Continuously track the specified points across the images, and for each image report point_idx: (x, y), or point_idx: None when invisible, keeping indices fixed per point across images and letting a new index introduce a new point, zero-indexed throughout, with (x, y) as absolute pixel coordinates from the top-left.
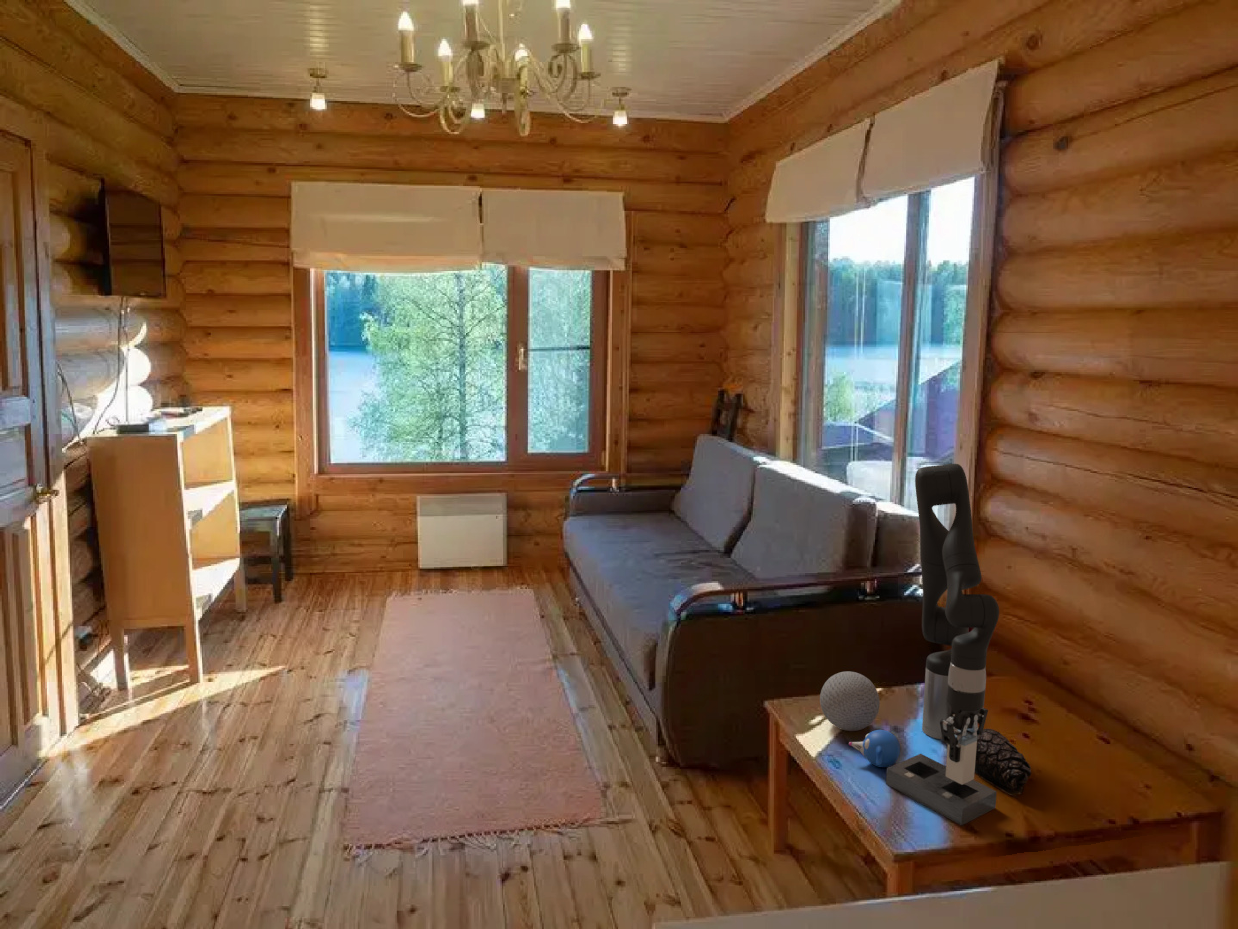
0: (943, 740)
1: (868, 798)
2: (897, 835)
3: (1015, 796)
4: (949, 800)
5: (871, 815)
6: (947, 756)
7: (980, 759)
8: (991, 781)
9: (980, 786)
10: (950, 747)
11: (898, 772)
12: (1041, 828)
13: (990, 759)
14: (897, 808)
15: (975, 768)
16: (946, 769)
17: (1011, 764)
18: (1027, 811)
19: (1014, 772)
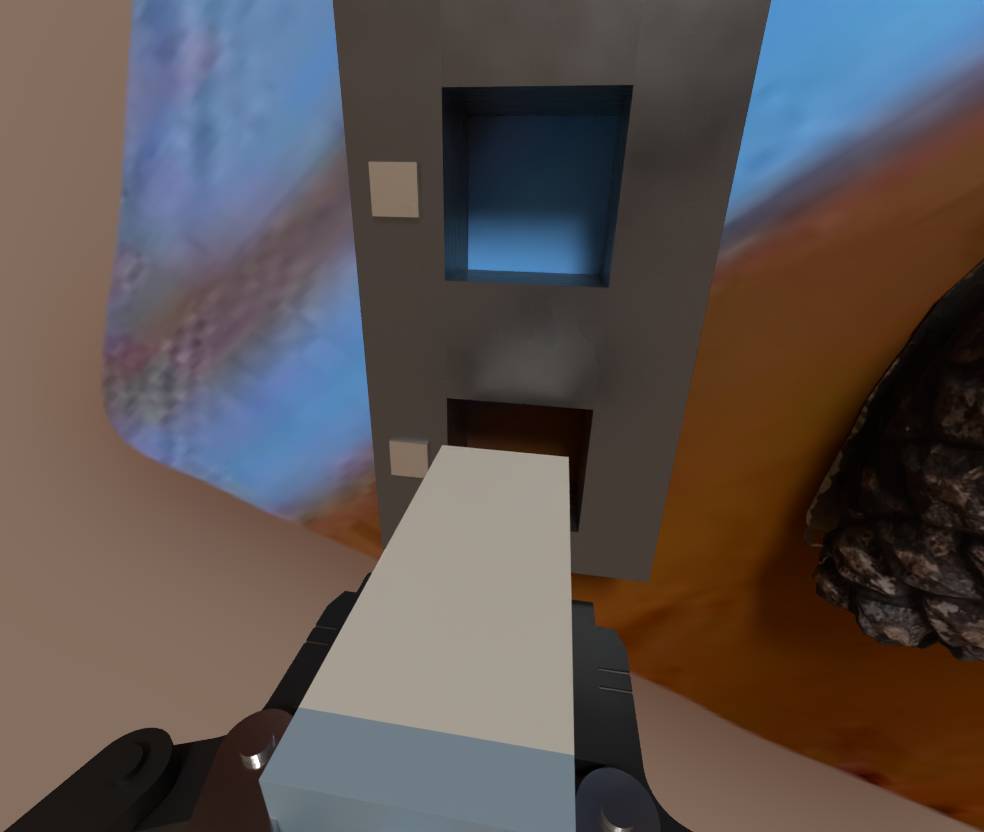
0: (85, 777)
1: (200, 103)
2: (155, 389)
3: (804, 540)
4: (384, 485)
5: (133, 230)
6: (393, 540)
7: (971, 396)
8: (873, 422)
9: (631, 519)
10: (274, 700)
11: (362, 108)
12: (632, 664)
13: (961, 488)
14: (274, 266)
15: (969, 303)
16: (429, 473)
17: (950, 615)
18: (713, 605)
19: (875, 626)
